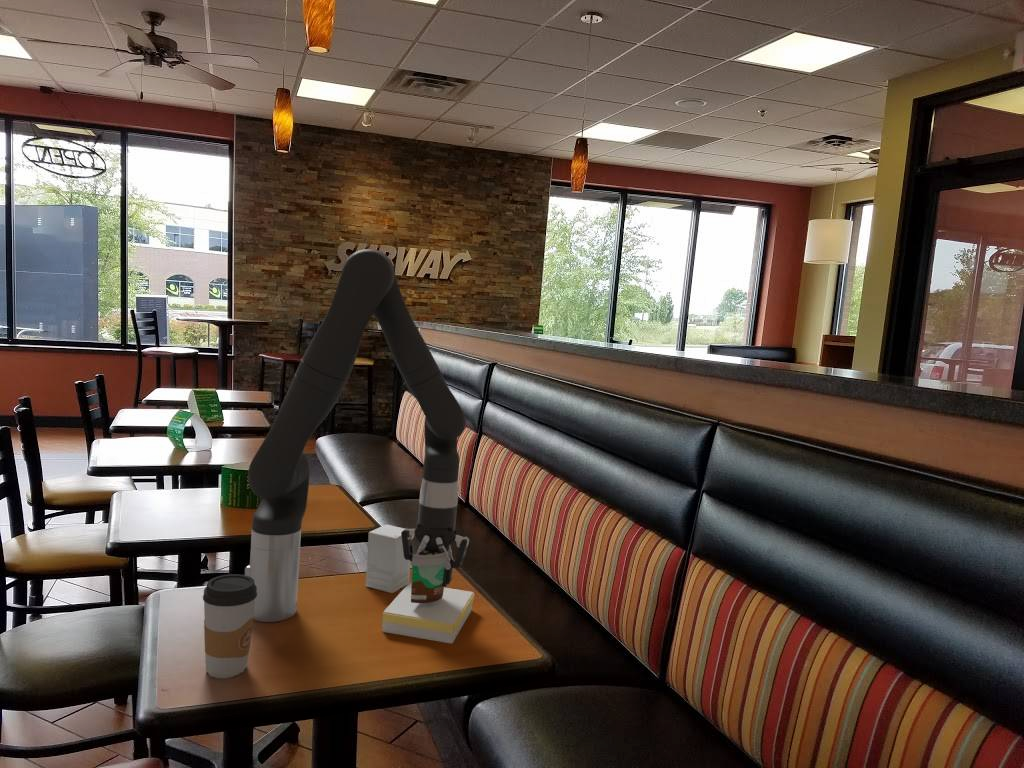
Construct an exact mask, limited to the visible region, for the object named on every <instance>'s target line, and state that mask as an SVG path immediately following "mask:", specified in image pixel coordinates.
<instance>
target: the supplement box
mask: <svg viewBox="0 0 1024 768" xmlns="http://www.w3.org/2000/svg"><path fill="white" fill-rule="evenodd" d="M404 529H405V528H403V527H399V526H394V525H391V524H384V525H382V526H380V527H378V528H375V529H373V530H370V531H369V532H368V539H367V541H368V542H367V556H366V559H367V560H366V570H365V571H366V573H365V587H366V588H372V589H376V590H378V591H383V592H386V593H388V594H389V593H390V594H393V593H396V592H397V591H399V590H400V588H401V589H403V588H405V587H406V586H407V585H408V584H409V582H410V576H411V575H410V574H411V564H412V562H411V561H410V560H406V559H405V558H404V552H403V544H402V536H401V532H402V531H403V530H404Z"/></svg>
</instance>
